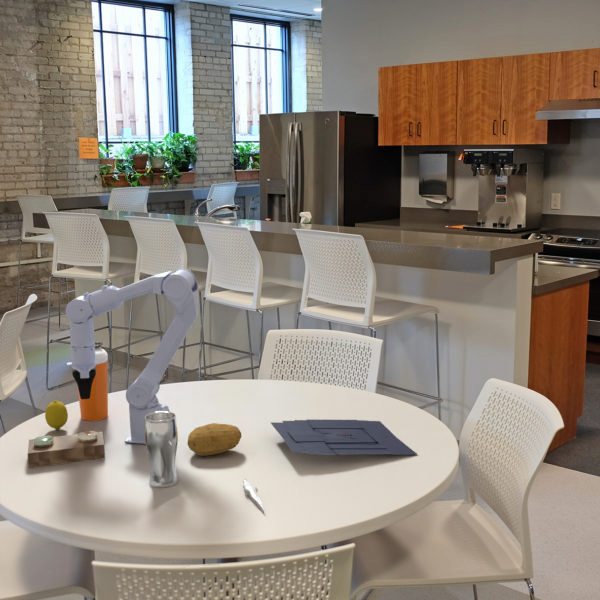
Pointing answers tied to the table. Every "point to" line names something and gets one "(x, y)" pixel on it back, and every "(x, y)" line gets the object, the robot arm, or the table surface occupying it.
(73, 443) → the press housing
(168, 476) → the beer glass
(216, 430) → the potato
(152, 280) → the robot arm
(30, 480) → the table surface
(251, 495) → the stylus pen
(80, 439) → the silver knob
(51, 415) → the lemon
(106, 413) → the shaker bottle
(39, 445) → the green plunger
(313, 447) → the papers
